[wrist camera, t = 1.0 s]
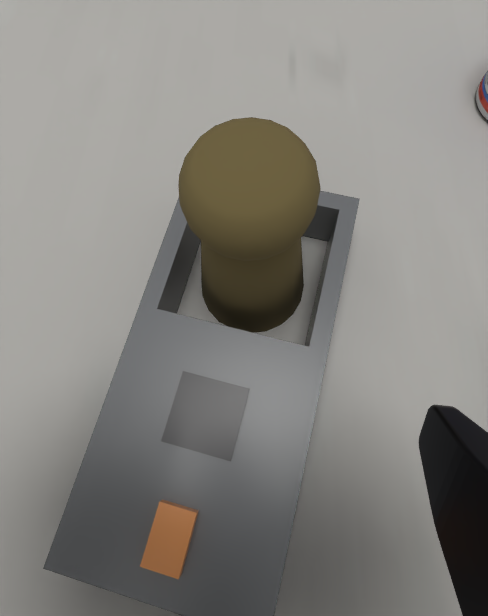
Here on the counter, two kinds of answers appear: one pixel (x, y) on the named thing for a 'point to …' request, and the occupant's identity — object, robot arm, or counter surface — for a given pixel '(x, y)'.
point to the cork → (250, 219)
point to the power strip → (201, 445)
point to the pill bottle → (483, 96)
